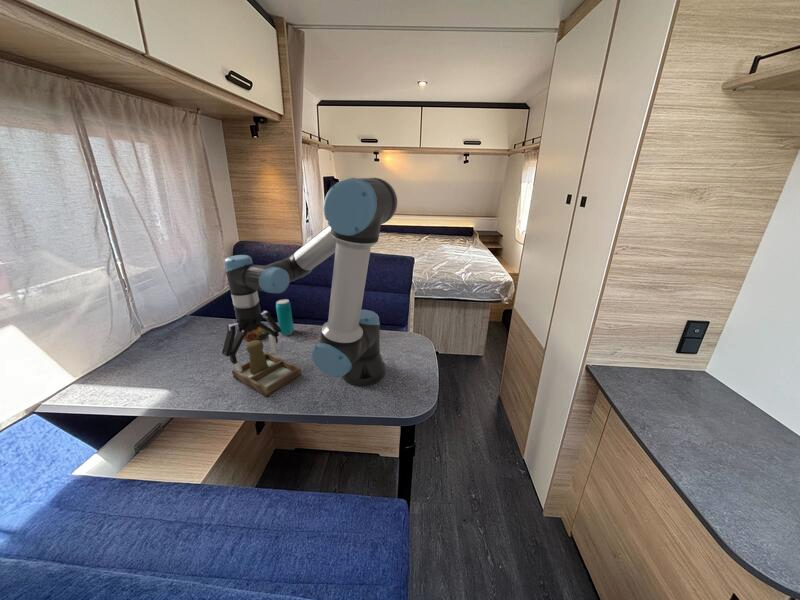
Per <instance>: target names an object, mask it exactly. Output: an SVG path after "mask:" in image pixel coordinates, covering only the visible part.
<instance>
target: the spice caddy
mask: <svg viewBox="0 0 800 600" xmlns="http://www.w3.org/2000/svg"><path fill="white" fill-rule="evenodd" d="M263 353H264V352H263ZM264 356H265V359H266V362H267V364H268V368H266V369H264V370H262V371H261V372H259V373H257V374H255V375H253V374H251V373H250V360H248V361H246V362H244V363H242V364H241V367H242V372H239V371H237V370H235V368H233V369H231V373H232V376H233V378H234V379H235V380H237V381H238V382H240V383H242V384H244V386H247V387H249V388H250V389H252V390H253V391H256V392H258V393H259V395H260V394H261V395H262V396H264V398H269V397H270V396H271V395H273V394H274V393H276V392H278V391H279V390H281V389H283V388H284V387H286V386H287V385H289V384H291V383H292V382H293V381H296V380H297V379H298V378H300V377H301V376H302V370H301V367H300V366H297V365H295V364H294V363H293V364H292V363H290V362H288V361H287V360H284V359H282V358H280V357H279V356H276V355H274V354H272V353H269V352H268V351H267V352H265V353H264Z"/></svg>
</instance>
